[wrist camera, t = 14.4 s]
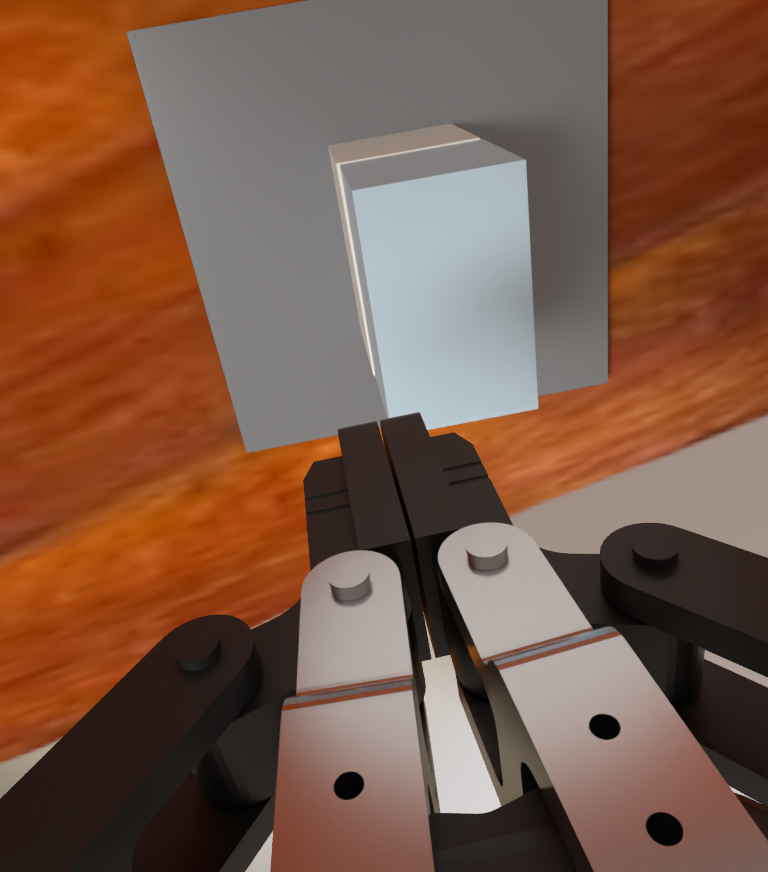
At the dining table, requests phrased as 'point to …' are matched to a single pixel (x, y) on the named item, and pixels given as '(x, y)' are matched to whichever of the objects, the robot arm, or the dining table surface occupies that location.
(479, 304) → the pale blue brick
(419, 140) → the cream base brick
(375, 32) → the charcoal baseplate
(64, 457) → the dining table surface
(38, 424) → the dining table surface
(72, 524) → the dining table surface
